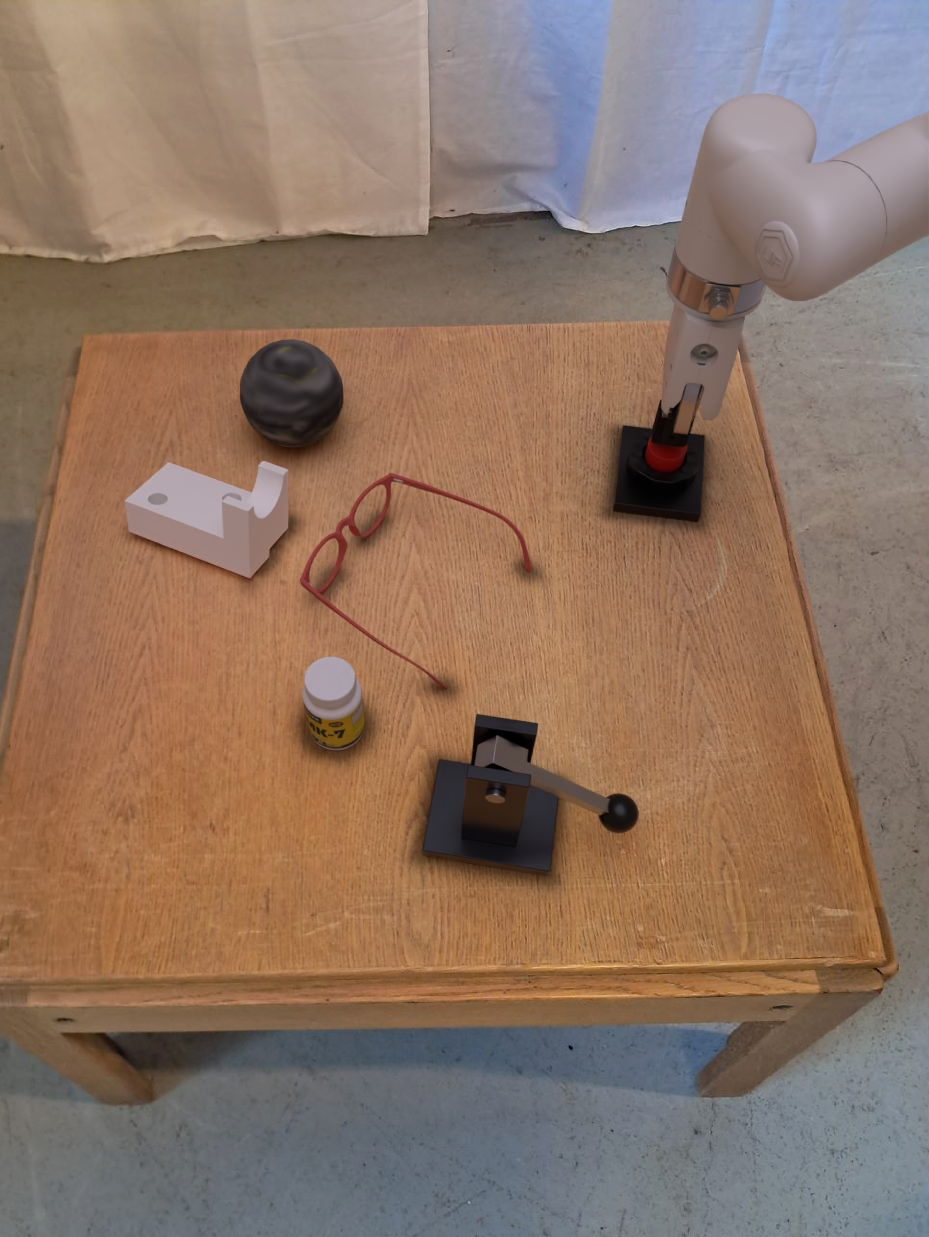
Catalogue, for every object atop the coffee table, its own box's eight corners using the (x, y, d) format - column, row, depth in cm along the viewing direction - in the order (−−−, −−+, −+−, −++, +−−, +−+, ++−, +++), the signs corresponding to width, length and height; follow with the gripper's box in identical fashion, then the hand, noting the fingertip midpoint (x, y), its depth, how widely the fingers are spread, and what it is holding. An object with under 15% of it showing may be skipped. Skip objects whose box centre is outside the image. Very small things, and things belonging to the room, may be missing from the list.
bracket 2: (559, 783, 83) (580, 710, 72) (548, 876, 79) (568, 814, 68) (438, 764, 84) (440, 689, 73) (422, 855, 80) (421, 790, 69)
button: (646, 441, 97) (649, 428, 96) (683, 446, 97) (688, 433, 95) (643, 470, 96) (647, 457, 94) (682, 474, 95) (686, 462, 94)
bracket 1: (288, 535, 97) (288, 469, 91) (249, 578, 92) (248, 511, 87) (171, 492, 100) (165, 425, 94) (128, 531, 95) (119, 463, 89)
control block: (620, 433, 101) (626, 411, 99) (702, 443, 101) (709, 421, 98) (612, 511, 97) (618, 490, 94) (697, 522, 96) (705, 501, 93)
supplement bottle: (299, 740, 85) (287, 692, 78) (323, 695, 87) (313, 643, 80) (352, 760, 84) (345, 712, 77) (374, 713, 86) (369, 662, 79)
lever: (621, 806, 79) (648, 797, 76) (618, 842, 77) (646, 834, 75) (475, 740, 73) (500, 728, 71) (469, 778, 72) (494, 766, 69)
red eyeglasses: (393, 490, 98) (392, 454, 94) (538, 561, 94) (544, 528, 89) (287, 616, 91) (280, 584, 87) (438, 701, 87) (439, 671, 82)
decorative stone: (356, 458, 100) (349, 382, 91) (256, 477, 99) (239, 402, 90) (336, 387, 105) (328, 308, 96) (240, 404, 104) (224, 326, 95)
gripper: (767, 346, 74) (705, 507, 90) (769, 215, 81) (711, 386, 97) (664, 334, 75) (621, 496, 91) (674, 205, 82) (633, 376, 98)
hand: (668, 438), depth 94 cm, fingers closed
